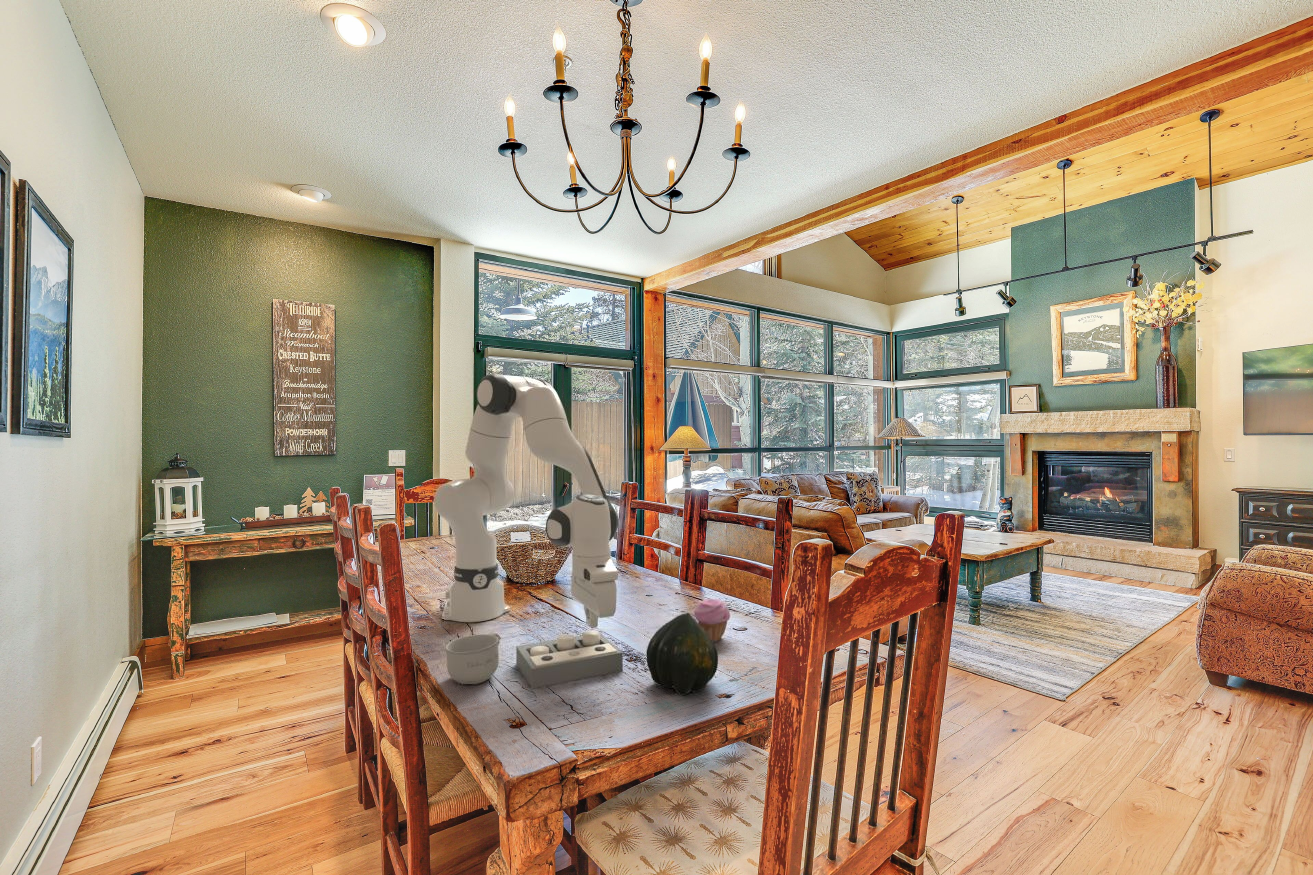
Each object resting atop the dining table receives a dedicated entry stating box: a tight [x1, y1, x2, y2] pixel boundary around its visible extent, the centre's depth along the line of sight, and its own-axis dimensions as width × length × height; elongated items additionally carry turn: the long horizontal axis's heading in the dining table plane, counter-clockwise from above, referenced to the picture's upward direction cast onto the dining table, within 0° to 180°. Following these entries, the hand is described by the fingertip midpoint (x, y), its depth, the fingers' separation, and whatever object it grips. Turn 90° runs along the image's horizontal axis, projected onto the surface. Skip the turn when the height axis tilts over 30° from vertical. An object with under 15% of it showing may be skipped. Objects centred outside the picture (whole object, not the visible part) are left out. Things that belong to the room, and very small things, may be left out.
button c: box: [581, 629, 601, 647], centre depth 135 cm, size 4×4×3 cm
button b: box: [556, 633, 576, 652], centre depth 132 cm, size 4×4×3 cm
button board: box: [515, 632, 624, 690], centre depth 130 cm, size 14×20×4 cm
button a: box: [530, 646, 549, 657], centre depth 129 cm, size 4×4×3 cm
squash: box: [646, 612, 719, 696], centre depth 121 cm, size 14×15×15 cm
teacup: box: [444, 631, 501, 685], centre depth 126 cm, size 14×11×8 cm
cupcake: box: [693, 598, 731, 643], centre depth 148 cm, size 9×9×10 cm
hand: (591, 625), depth 135 cm, fingers closed
